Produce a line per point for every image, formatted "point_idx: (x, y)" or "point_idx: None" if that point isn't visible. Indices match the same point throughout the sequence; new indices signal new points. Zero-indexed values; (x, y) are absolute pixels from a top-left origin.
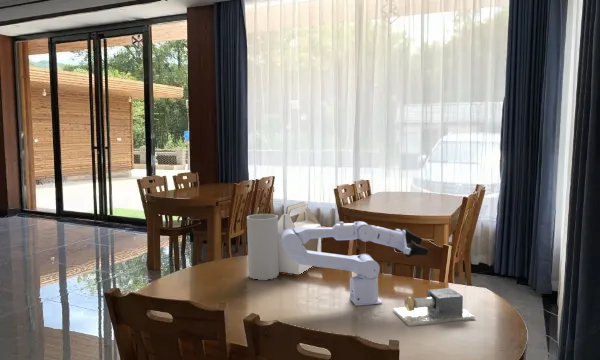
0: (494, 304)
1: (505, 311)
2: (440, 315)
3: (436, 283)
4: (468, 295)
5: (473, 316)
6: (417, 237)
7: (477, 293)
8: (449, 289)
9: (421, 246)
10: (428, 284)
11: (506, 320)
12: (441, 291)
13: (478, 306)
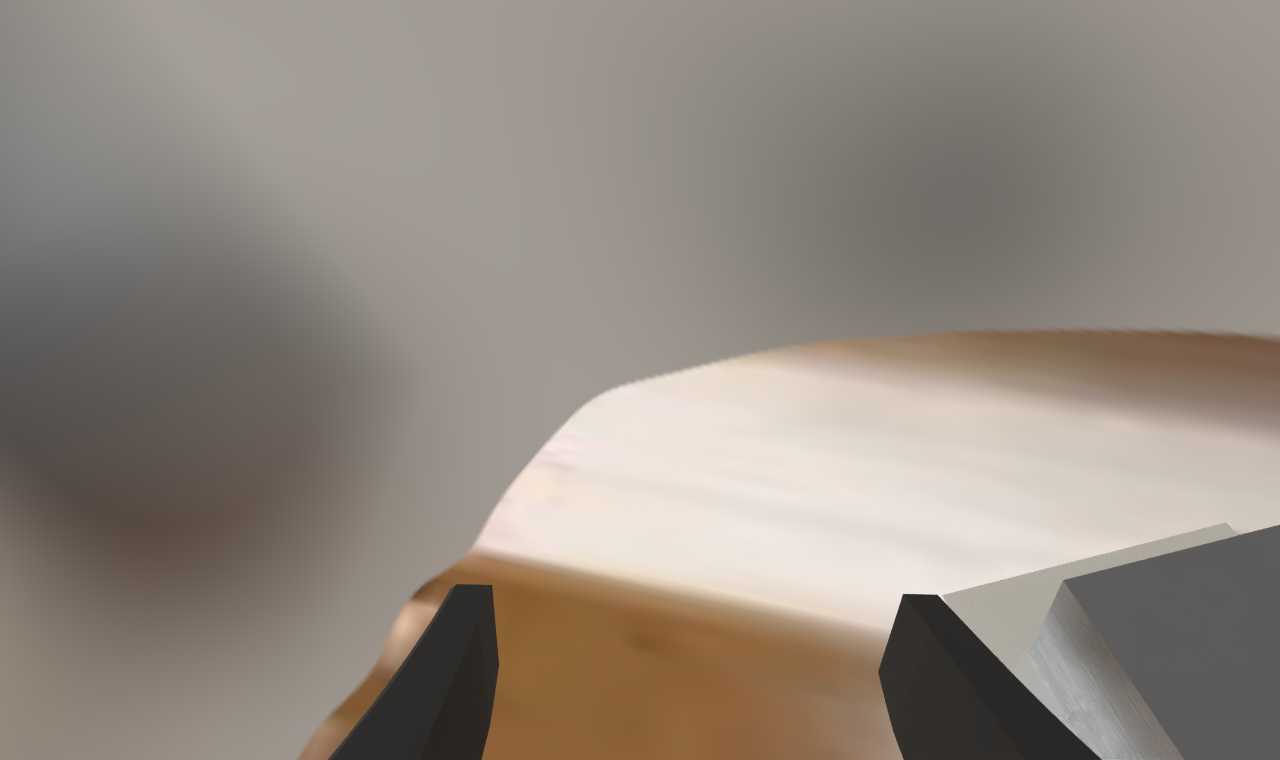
0: (867, 382)
1: (977, 356)
2: None
3: None
4: (715, 478)
5: (1233, 531)
6: (460, 676)
7: (680, 427)
8: (1125, 595)
9: (1016, 725)
10: None
11: (1141, 374)
12: (1245, 696)
13: (922, 463)
